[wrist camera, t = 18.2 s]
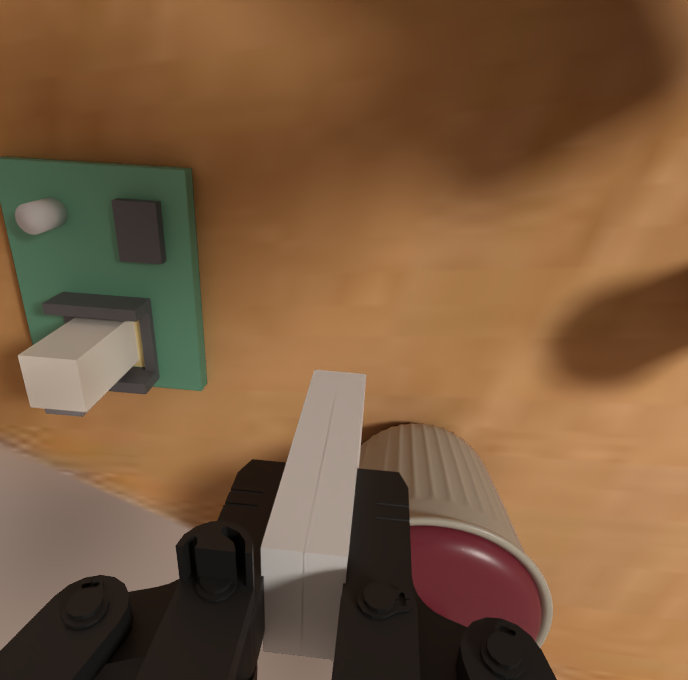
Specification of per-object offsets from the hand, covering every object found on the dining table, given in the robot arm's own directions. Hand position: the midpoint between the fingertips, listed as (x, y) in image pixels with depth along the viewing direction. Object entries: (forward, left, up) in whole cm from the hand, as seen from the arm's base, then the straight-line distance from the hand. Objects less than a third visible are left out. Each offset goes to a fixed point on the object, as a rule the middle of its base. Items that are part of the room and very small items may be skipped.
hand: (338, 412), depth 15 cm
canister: (+25, +6, -30) cm, 39 cm away
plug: (+12, -23, -28) cm, 38 cm away
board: (+7, -23, -29) cm, 38 cm away
